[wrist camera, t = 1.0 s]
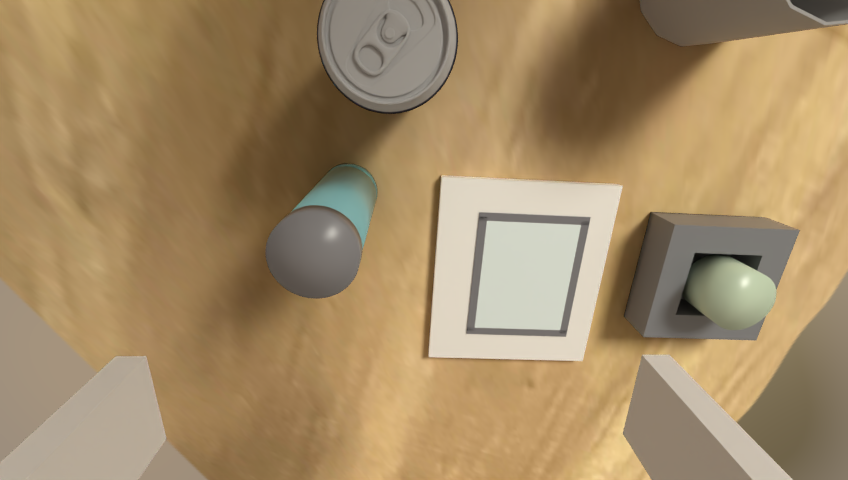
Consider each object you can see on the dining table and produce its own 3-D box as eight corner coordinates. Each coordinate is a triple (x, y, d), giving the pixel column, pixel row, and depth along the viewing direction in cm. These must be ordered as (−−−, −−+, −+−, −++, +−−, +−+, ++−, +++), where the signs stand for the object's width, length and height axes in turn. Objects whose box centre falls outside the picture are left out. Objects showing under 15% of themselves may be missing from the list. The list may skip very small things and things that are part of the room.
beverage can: (457, 53, 27) (492, 28, 15) (401, 121, 28) (396, 145, 17) (389, -14, 25) (374, -94, 14) (333, 62, 27) (279, 45, 15)
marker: (319, 161, 29) (261, 210, 17) (378, 164, 29) (359, 214, 18) (321, 217, 30) (269, 296, 19) (377, 219, 30) (359, 299, 19)
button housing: (650, 212, 31) (675, 224, 28) (764, 217, 32) (799, 230, 29) (623, 316, 34) (643, 336, 31) (728, 319, 35) (756, 340, 32)
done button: (690, 252, 30) (722, 271, 27) (748, 254, 30) (786, 273, 27) (674, 306, 31) (702, 329, 28) (729, 307, 32) (763, 331, 29)
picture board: (441, 175, 29) (441, 177, 29) (617, 183, 30) (623, 186, 29) (428, 352, 35) (428, 357, 34) (579, 356, 35) (583, 361, 35)
